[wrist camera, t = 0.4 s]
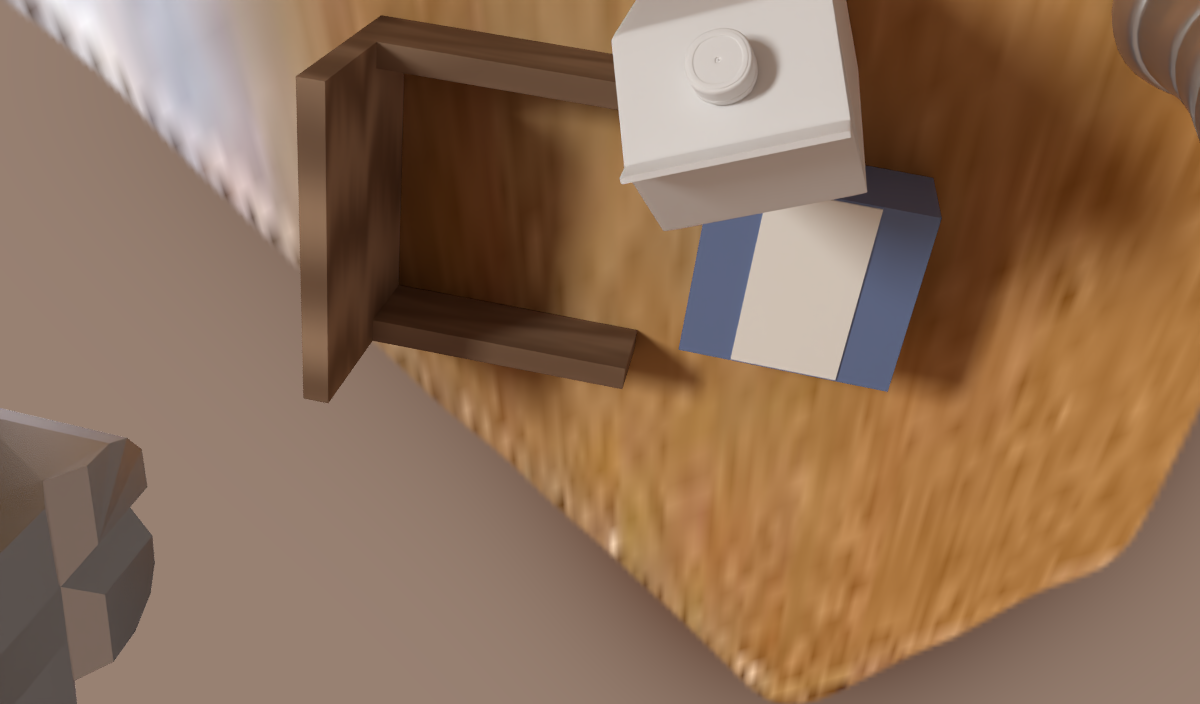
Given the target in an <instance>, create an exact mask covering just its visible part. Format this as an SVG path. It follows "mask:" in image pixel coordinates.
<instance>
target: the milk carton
mask: <svg viewBox="0 0 1200 704" xmlns="http://www.w3.org/2000/svg"><path fill="white" fill-rule="evenodd" d="M612 51H613V61H614V70H615V80H616V90H617V100H618V109H619V119H620V129H621V139H622V148H623V158H624V167H625V168H624V170H623V172H622V174H621V177H620V182H621V184H626V183H631V182H633V184H634V185H635V187H636V188H637V190H638V192H639V193H640V195H641V196H642V198H643V199H644V201H645V203H646V204H647V206H648V207H649V209H650V210H651V212H652V214H653V215H654V217H655V218H656V220H657V221H658V223H659V225H660V226H661V228H662V229H663V231H669V230H675V229H681V228H686V227H691V226H697V225H702V224H707V223H712V222H718V221H723V220H728V219H734V218H739V217H744V216H749V215H755V214H760V213H765V212H770V211H776V210H781V209H786V208H791V207H797V206H802V205H807V204H812V203H818V202H823V201H828V200H834V199H839V198H844V197H849V196H854V195H859V194H863V193H866V192H867V184H866V170H865V156H864V142H863V129H862V115H861V101H860V87H859V73H858V64H857V59H856V53H855V47H854V42H853V36H852V30H851V25H850V19H849V13H848V7H847V2H846V0H636V1H635V3H634V4H633V6H632V7H631V9H630V11H629V12H628V14H627V15H626V17H625V18H624V20H623V22H622V23H621V25H620V26H619V28H618V30H617V31H616V33H615V35H614V37H613V39H612Z"/></svg>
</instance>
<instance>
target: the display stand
mask: <svg viewBox="0 0 1200 704" xmlns="http://www.w3.org/2000/svg"><path fill="white" fill-rule="evenodd" d="M404 73H406V74H412V75H417V76H423V77H429V78H435V79H441V80H447V81H452V82H458V83H464V84H470V85H476V86H482V87H487V88H493V89H499V90H505V91H511V92H517V93H522V94H528V95H534V96H540V97H546V98H551V99H557V100H563V101H569V102H575V103H581V104H586V105H592V106H598V107H604V108H610V109H616V110H619V109H618V100H617V90H616V80H615V70H614V61H613V54H609V53H603V52H597V51H591V50H585V49H579V48H573V47H567V46H561V45H555V44H549V43H543V42H537V41H531V40H525V39H519V38H513V37H507V36H501V35H495V34H489V33H483V32H477V31H471V30H465V29H459V28H453V27H447V26H441V25H435V24H429V23H423V22H417V21H411V20H405V19H399V18H393V17H387V16H380V17H378V18H377V19H376V20H374V21H373V22H371V23H370V24H369V25H367V26H366V27H364V28H363V29H362V30H360V31H359V32H357V33H356V34H355V35H353V36H352V37H350V38H349V39H348V40H346V41H345V42H343V43H342V44H341V45H339V46H338V47H336V48H335V49H334V50H332V51H331V52H329V53H328V54H327V55H325V56H324V57H322V58H321V59H320V60H318V61H317V62H315V63H314V64H313V65H311V66H310V67H309V68H307V69H306V70H304V71H303V72H302V73H300V74H299V75H297V76H296V100H297V142H298V184H299V226H300V268H301V311H302V353H303V389H304V390H303V393H304V394H303V395H304V398H305V399H310V400H315V401H320V402H325V403H329V401H330V400H331V398H332V397H333V396H334V394H335V393H336V391H337V390H338V389H339V387H340V386H341V384H342V383H343V382H344V380H345V379H346V377H347V376H348V374H349V373H350V372H351V370H352V369H353V368H354V366H355V365H356V363H357V362H358V360H359V359H360V358H361V356H362V355H363V353H364V352H365V351H366V349H367V348H368V346H369V345H370V344H371V342H372V341H377V342H382V343H388V344H393V345H398V346H403V347H408V348H413V349H418V350H424V351H429V352H434V353H439V354H444V355H449V356H454V357H460V358H465V359H470V360H475V361H480V362H485V363H491V364H496V365H501V366H506V367H511V368H516V369H521V370H527V371H532V372H537V373H542V374H547V375H552V376H557V377H563V378H568V379H573V380H578V381H583V382H588V383H593V384H599V385H604V386H609V387H614V388H619V389H623V385H624V382H625V379H626V375H627V372H628V369H629V365H630V362H631V359H632V355H633V352H634V348H635V341H636V335H637V330H633V329H628V328H623V327H617V326H612V325H607V324H601V323H596V322H591V321H586V320H580V319H575V318H570V317H565V316H559V315H554V314H549V313H543V312H538V311H533V310H528V309H522V308H517V307H512V306H506V305H501V304H496V303H491V302H485V301H480V300H475V299H469V298H464V297H459V296H454V295H448V294H443V293H438V292H432V291H427V290H422V289H417V288H411V287H406V286H401V285H399V252H400V214H401V177H402V139H403V102H404Z"/></svg>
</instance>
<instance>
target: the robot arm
mask: <svg viewBox="0 0 1200 704" xmlns="http://www.w3.org/2000/svg"><path fill="white" fill-rule="evenodd" d="M146 488H147V481H146V475H145V468H144V461H143V454H142V449H141V448H139V447H138V446H137V445H135V444H134V443H133V442H131V441H130V440H129V439H128V438H125V437H121V436H116V435H112V434H108V433H104V432H99V431H95V430H91V429H86V428H83V427H78V426H74V425H69V424H65V423H61V422H57V421H53V420H48V419H44V418H40V417H35V416H31V415H27V414H22V413H18V412H14V411H10V410H6V409H1V408H0V704H77V699H76V689H75V680H77V679H79V678H81V677H83V676H85V675H87V674H89V673H91V672H94V671H95V670H98V669H99V668H102V667H104V666H106V665H108V664H110V663H112V662H114V660H115V659H116V657H117V656H118V655H119V653H120V652H121V651H122V649H123V648H124V646H125V645H126V643H127V642H128V641H129V639H130V638H131V637H132V635H133V634H134V632H135V631H136V628H137V626H138V623H139V621H140V618H141V616H142V613H143V611H144V608H145V606H146V603H147V601H148V598H149V596H150V593H151V586H152V579H153V571H154V564H155V561H154V550H153V538H152V535H151V533H150V532H149V531H148V530H147V528H146V527H145V526H144V525H143V523H142V522H141V521H140V519H139V518H138V517H137V516H136V514H135V513H134V512H133V510H132V509H131V508H130V507H131V505H132V504H133V503H134V502H135V501H136V500H137V498H138V497H139V496H140V495H141V494H142V493H143V492H144V490H145V489H146Z"/></svg>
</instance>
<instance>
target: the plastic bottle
mask: <svg viewBox="0 0 1200 704" xmlns="http://www.w3.org/2000/svg"><path fill="white" fill-rule="evenodd" d="M1112 26H1113V33H1114V38H1115V41H1116V45H1117V48H1118V51H1119V53H1120V54H1121V56H1122V58H1123V60H1124V62H1125V63H1126V64H1127V65H1128V66H1129V68H1130V69H1131V70H1132V71H1133V72H1134V73H1135V74H1136V75H1138V76H1139V77H1141V78H1142V79H1143V80H1145V81H1146V82H1148V83H1149V84H1151V85H1153V86H1155V87H1156V88H1158V89H1160V90H1163V91H1165V92H1167V93H1170V94H1172V95H1175V96H1176V97H1177V98H1179V99H1180V100H1181V101H1182V103H1183V104H1184V105H1185V107H1186V109H1187V110H1188V112H1189V113H1190V115H1191V118H1192V121H1193V123H1194V126H1195V129H1196V132H1197V135H1198V138H1199V141H1200V0H1113V6H1112Z"/></svg>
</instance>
